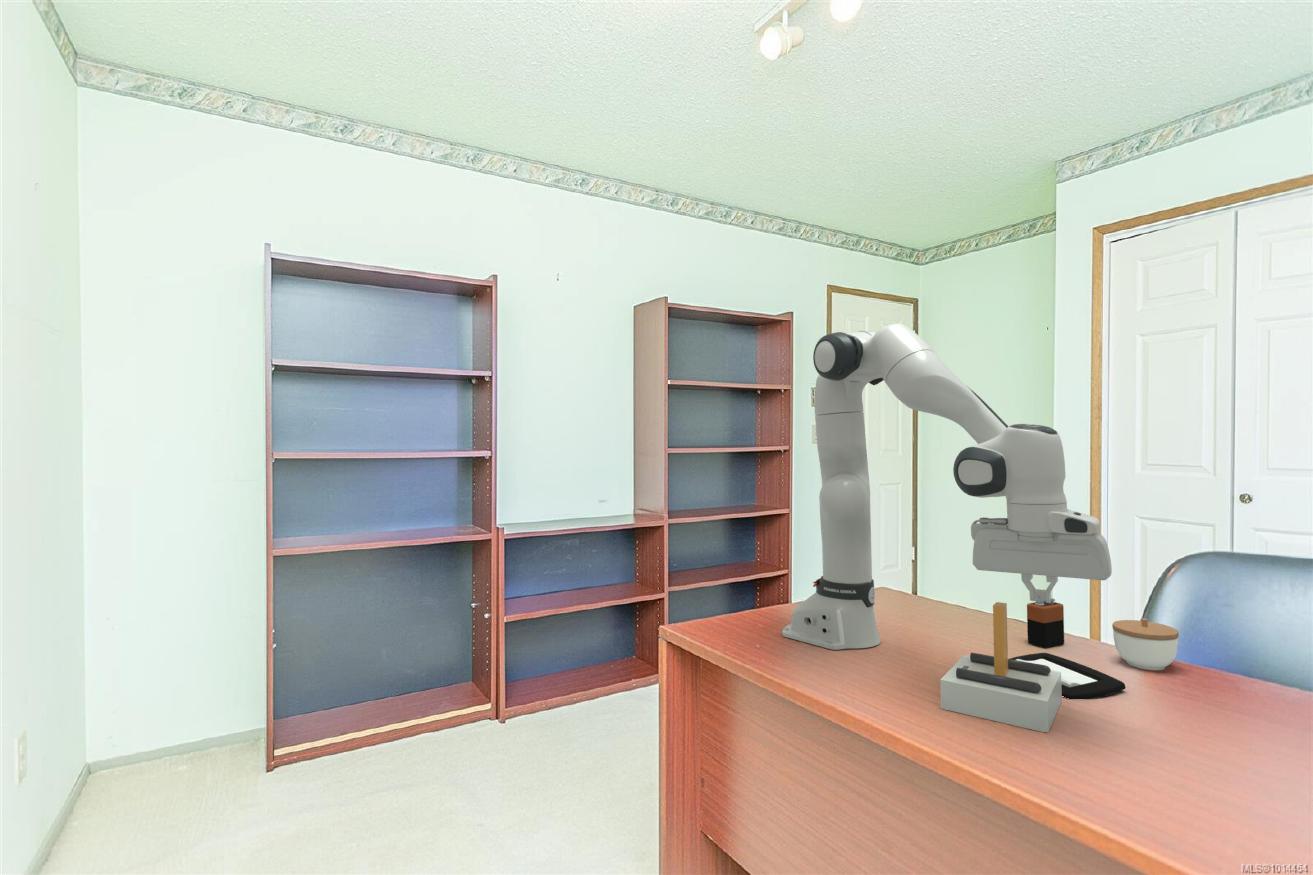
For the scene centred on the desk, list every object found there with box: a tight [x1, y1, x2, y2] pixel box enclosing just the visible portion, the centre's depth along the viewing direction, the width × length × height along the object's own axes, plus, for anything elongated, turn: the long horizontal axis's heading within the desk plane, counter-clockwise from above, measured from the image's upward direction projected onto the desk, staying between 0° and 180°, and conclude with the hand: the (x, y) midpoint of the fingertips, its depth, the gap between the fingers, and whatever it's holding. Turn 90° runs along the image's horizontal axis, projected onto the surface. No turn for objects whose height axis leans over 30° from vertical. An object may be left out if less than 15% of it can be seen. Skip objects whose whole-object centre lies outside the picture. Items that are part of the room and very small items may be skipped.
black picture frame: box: [1009, 652, 1126, 700], centre depth 125 cm, size 20×3×14 cm
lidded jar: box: [1112, 618, 1180, 672], centre depth 131 cm, size 11×11×9 cm
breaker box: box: [939, 652, 1063, 734], centre depth 113 cm, size 16×16×7 cm
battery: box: [1026, 597, 1065, 649], centre depth 146 cm, size 4×7×10 cm, turn 113°
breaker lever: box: [992, 601, 1009, 676], centre depth 114 cm, size 2×3×12 cm, turn 141°
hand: (1040, 601), depth 110 cm, fingers closed
